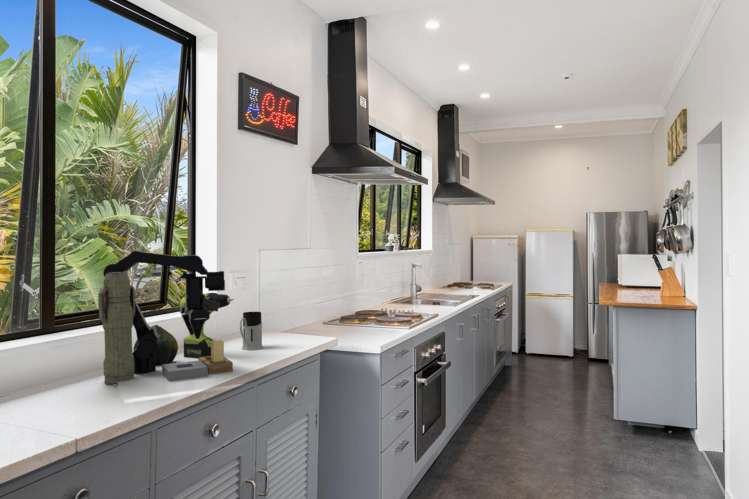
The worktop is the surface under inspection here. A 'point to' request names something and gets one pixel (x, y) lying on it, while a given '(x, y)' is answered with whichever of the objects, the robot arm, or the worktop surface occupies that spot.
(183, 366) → the socket block
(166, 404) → the worktop surface
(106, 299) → the olive carved statue
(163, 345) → the squash
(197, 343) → the cordless drill
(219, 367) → the walnut rack
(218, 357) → the block
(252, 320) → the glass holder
